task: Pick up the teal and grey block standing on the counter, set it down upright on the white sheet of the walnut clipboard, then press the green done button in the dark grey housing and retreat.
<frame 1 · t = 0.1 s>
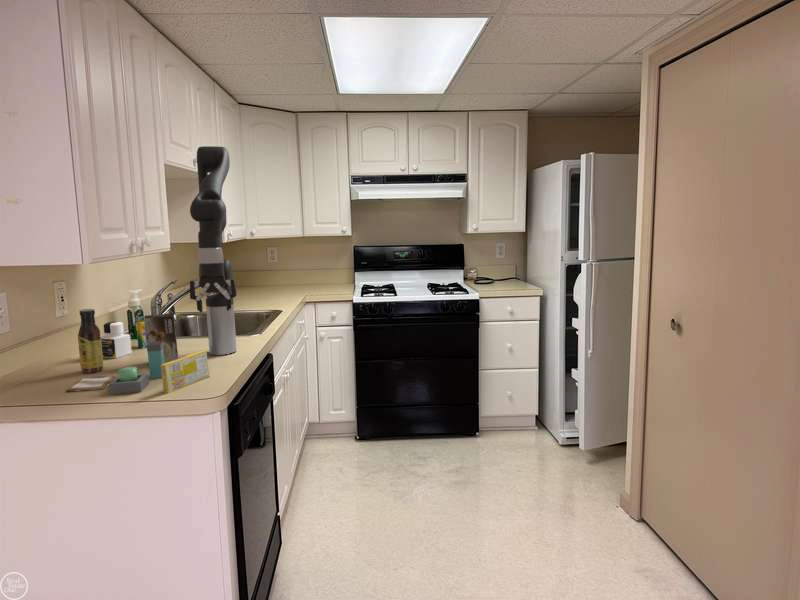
hand: (214, 311, 172), 17 cm above the worktop, tool pointing down, fingers open, 8 cm apart
done button: (128, 375, 147), point 4 cm above the worktop, slide at 0.0 cm
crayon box: (149, 346, 200), on the worktop
teal and grey block: (158, 376, 160), on the worktop
clipboard: (92, 384, 152), on the worktop
sauce bottle: (93, 371, 167), on the worktop
candy box: (187, 385, 151), on the worktop
button housing: (129, 388, 148), on the worktop
coffee box: (163, 363, 176), on the worktop
medicine bottle: (116, 356, 186), on the worktop
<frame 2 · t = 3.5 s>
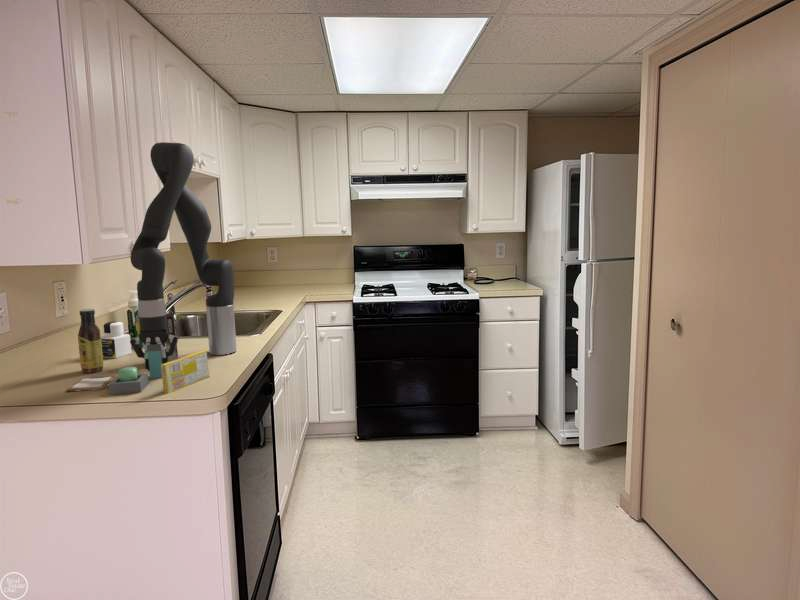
hand: (157, 369, 159), 2 cm above the worktop, tool pointing down, fingers closed on teal and grey block, 3 cm apart
teal and grey block: (158, 376, 160), on the worktop, touching gripper
everything else where it was.
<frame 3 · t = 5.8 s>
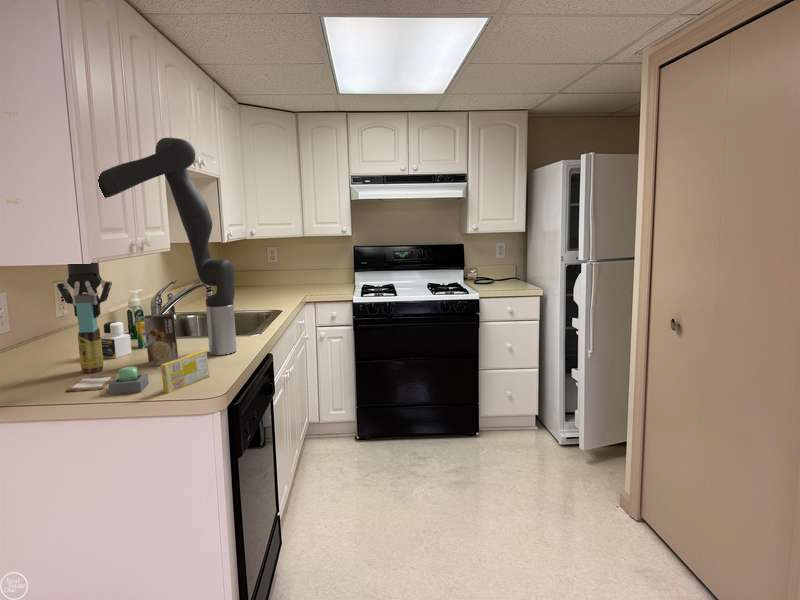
hand: (87, 317, 149), 20 cm above the worktop, tool pointing down, fingers closed on teal and grey block, 3 cm apart
teal and grey block: (88, 330, 149), point 16 cm above the worktop, touching gripper
everything else where it was.
when the fingers open (4 cm above the worktop, at t = 8.2 s): teal and grey block stays where it is, resting on clipboard.
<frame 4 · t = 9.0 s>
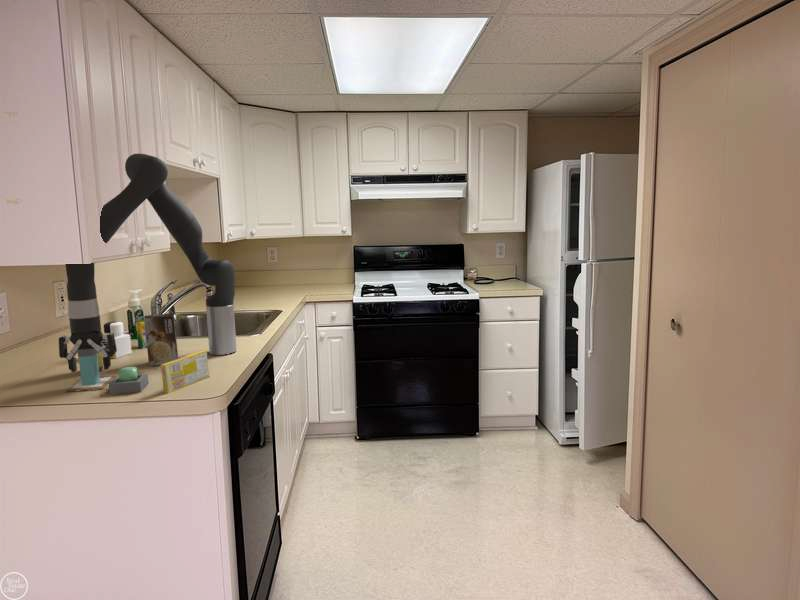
hand: (90, 370, 152), 4 cm above the worktop, tool pointing down, fingers open, 8 cm apart
teal and grey block: (91, 383, 151), point 1 cm above the worktop, touching clipboard
everything else where it was.
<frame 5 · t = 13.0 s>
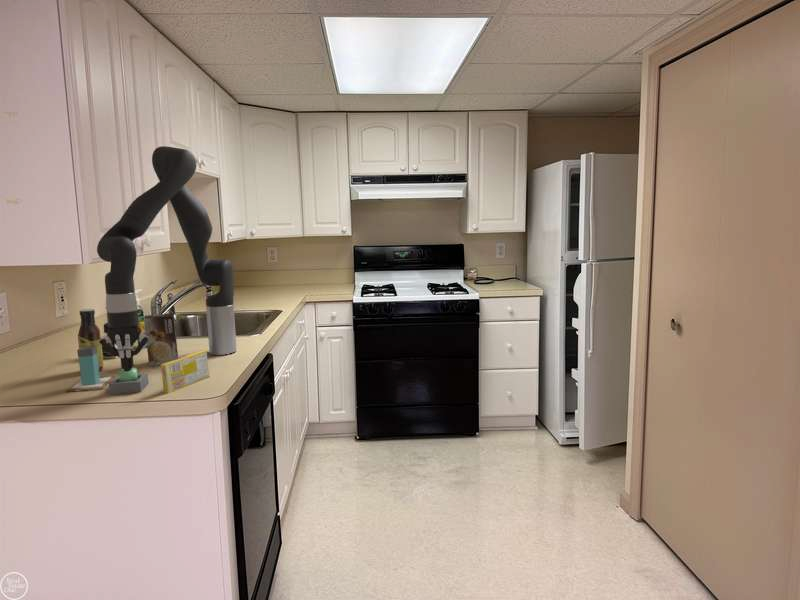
hand: (127, 370, 147), 6 cm above the worktop, tool pointing down, fingers closed
done button: (128, 376, 147), point 3 cm above the worktop, slide at 0.3 cm, touching gripper
everything else where it was.
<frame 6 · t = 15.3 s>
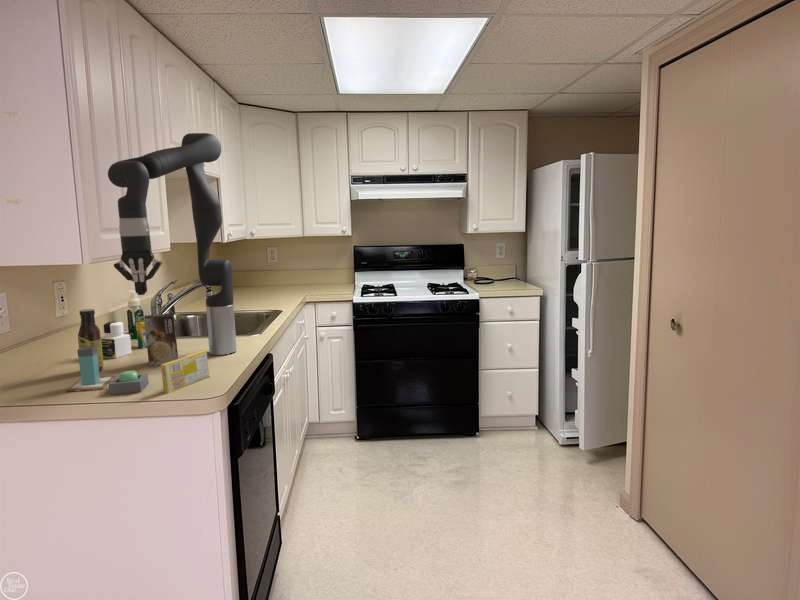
hand: (141, 294, 151), 26 cm above the worktop, tool pointing down, fingers closed
done button: (128, 379, 147), point 3 cm above the worktop, slide at 1.2 cm
everything else where it was.
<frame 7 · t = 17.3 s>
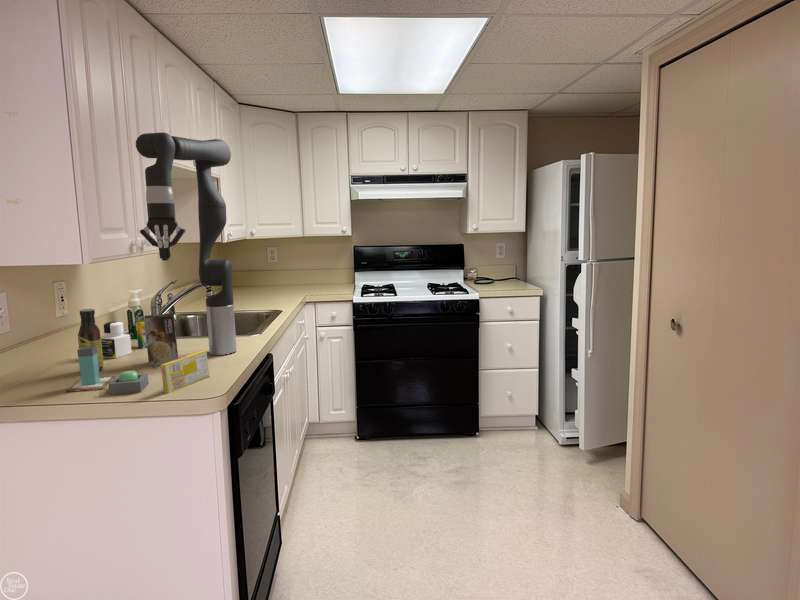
hand: (165, 260, 159), 35 cm above the worktop, tool pointing down, fingers closed
nothing on the worktop moved.
at the end: teal and grey block inside the target area on the clipboard (0.8 cm from its centre), point 0.8 cm above the clipboard's base; teal and grey block tilted 0°; done button slide at 1.2 cm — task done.
